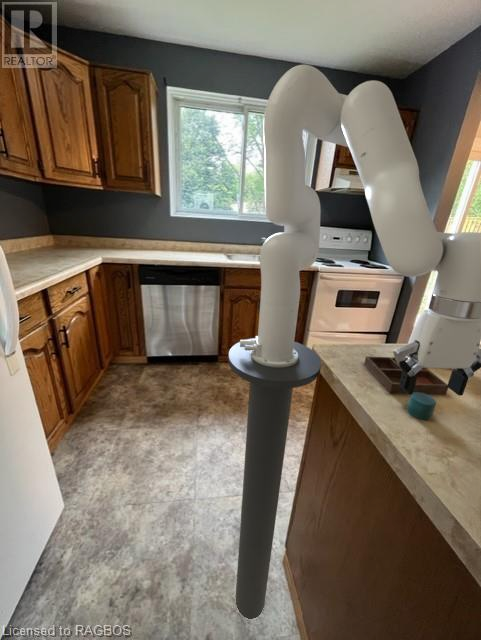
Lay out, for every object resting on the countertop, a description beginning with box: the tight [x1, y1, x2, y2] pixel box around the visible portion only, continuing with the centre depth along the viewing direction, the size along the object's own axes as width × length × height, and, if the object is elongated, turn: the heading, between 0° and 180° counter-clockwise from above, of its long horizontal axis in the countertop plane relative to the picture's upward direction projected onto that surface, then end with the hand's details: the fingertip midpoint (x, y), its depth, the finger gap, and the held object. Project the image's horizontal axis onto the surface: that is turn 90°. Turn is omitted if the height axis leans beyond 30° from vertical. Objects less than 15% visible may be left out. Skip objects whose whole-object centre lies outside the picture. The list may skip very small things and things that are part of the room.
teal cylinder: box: [406, 392, 437, 421], centre depth 54 cm, size 4×4×4 cm
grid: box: [363, 356, 449, 396], centre depth 67 cm, size 13×13×2 cm
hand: (430, 391), depth 53 cm, fingers open, 9 cm apart
